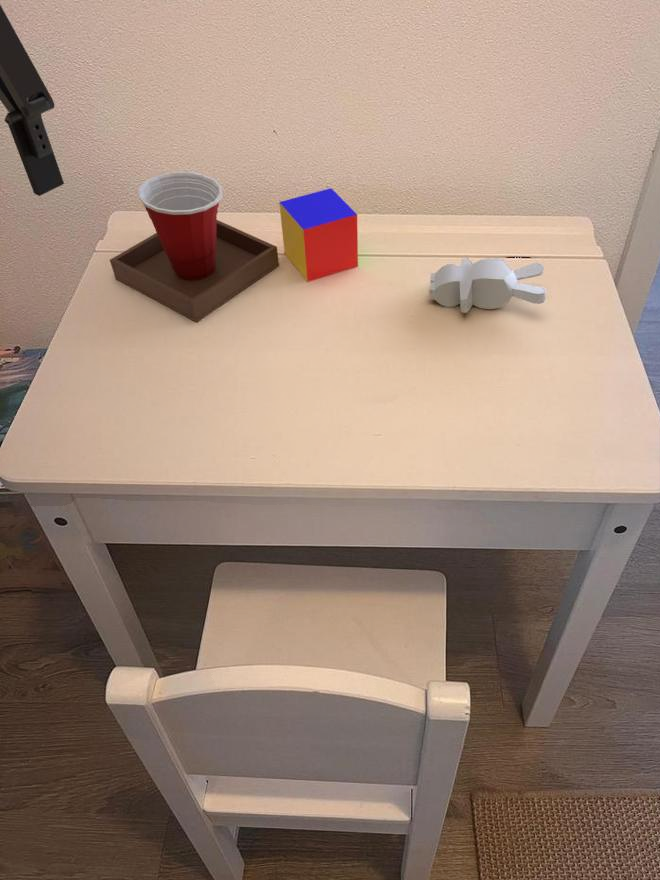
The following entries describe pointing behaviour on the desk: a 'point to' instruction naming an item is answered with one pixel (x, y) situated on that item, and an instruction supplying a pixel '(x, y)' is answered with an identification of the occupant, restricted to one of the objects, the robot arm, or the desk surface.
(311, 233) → the cube
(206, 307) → the tray
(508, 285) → the bunny figurine
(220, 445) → the desk surface
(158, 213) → the plastic cup
